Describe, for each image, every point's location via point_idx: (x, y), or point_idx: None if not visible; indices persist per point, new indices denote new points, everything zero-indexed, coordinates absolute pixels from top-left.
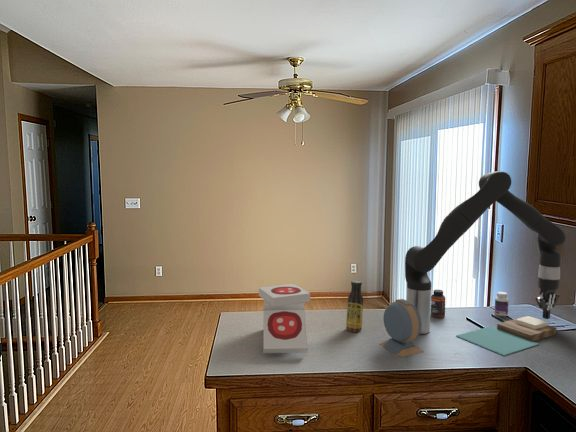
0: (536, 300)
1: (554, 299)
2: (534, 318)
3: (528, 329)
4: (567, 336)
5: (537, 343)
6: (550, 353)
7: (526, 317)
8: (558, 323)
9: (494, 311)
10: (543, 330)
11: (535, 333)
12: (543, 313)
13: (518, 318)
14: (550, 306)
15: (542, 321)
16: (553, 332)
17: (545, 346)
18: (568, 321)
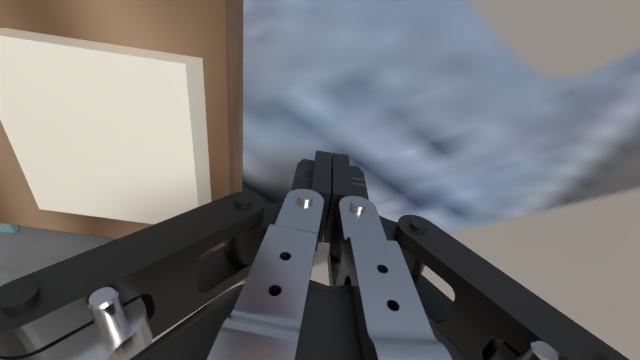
0: (47, 276)
1: (464, 349)
2: (177, 139)
3: (15, 166)
4: None
5: (8, 227)
6: (3, 282)
7: (124, 79)
8: (459, 172)
9: None
10: (107, 227)
11: (11, 219)
12: (293, 182)
13: (9, 40)
14: (329, 278)
15: (171, 207)
16: None
17: (39, 250)
18: (553, 195)
